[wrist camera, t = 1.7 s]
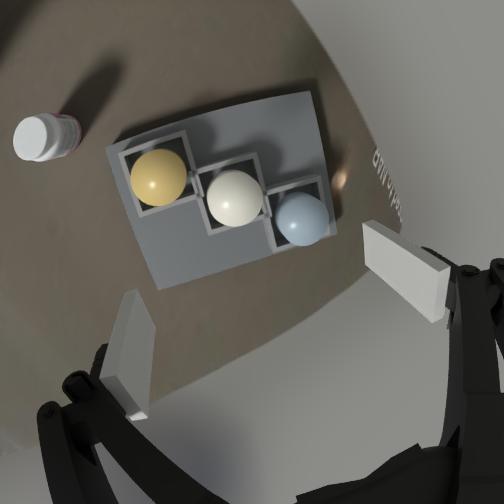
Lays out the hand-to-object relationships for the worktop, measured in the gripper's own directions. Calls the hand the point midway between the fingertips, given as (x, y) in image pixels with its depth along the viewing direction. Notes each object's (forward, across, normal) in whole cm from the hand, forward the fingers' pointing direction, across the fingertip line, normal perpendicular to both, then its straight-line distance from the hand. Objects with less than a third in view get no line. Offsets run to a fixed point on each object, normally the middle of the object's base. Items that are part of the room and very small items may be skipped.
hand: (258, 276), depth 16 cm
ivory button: (+15, +1, +1) cm, 15 cm away
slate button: (+15, +7, -3) cm, 16 cm away
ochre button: (+15, -5, +5) cm, 16 cm away
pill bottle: (+19, -15, +13) cm, 28 cm away
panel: (+19, +1, +1) cm, 19 cm away
